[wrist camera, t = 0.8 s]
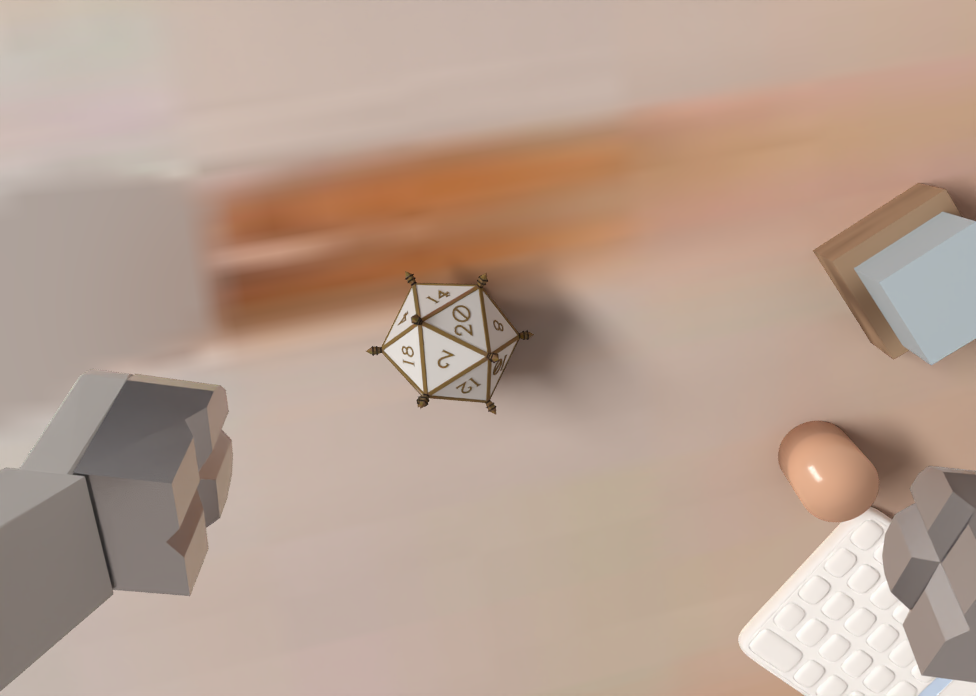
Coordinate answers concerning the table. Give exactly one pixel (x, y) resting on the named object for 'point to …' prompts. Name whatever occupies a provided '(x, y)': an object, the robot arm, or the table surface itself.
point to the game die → (451, 342)
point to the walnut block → (869, 241)
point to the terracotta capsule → (828, 471)
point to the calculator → (842, 623)
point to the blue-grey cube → (928, 286)
